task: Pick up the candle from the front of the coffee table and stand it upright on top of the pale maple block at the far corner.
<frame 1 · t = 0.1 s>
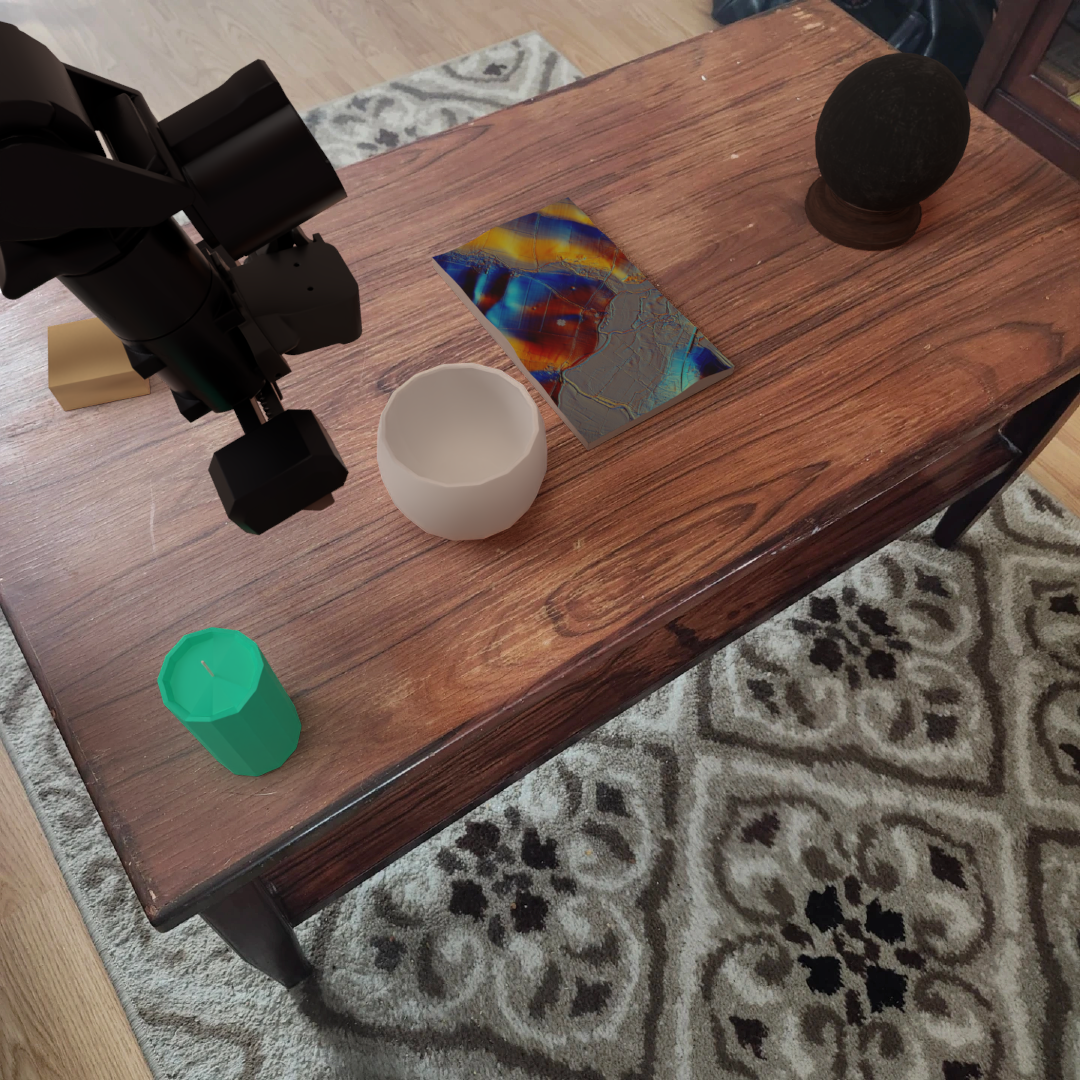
hand: (300, 451, 58), 13 cm above the table, tool pointing down, fingers open, 9 cm apart
relief map: (576, 320, 82), on the table
candle: (257, 734, 62), on the table
maple block: (105, 372, 78), on the table
cup: (468, 500, 72), on the table
velvet ball on stand: (860, 213, 90), on the table
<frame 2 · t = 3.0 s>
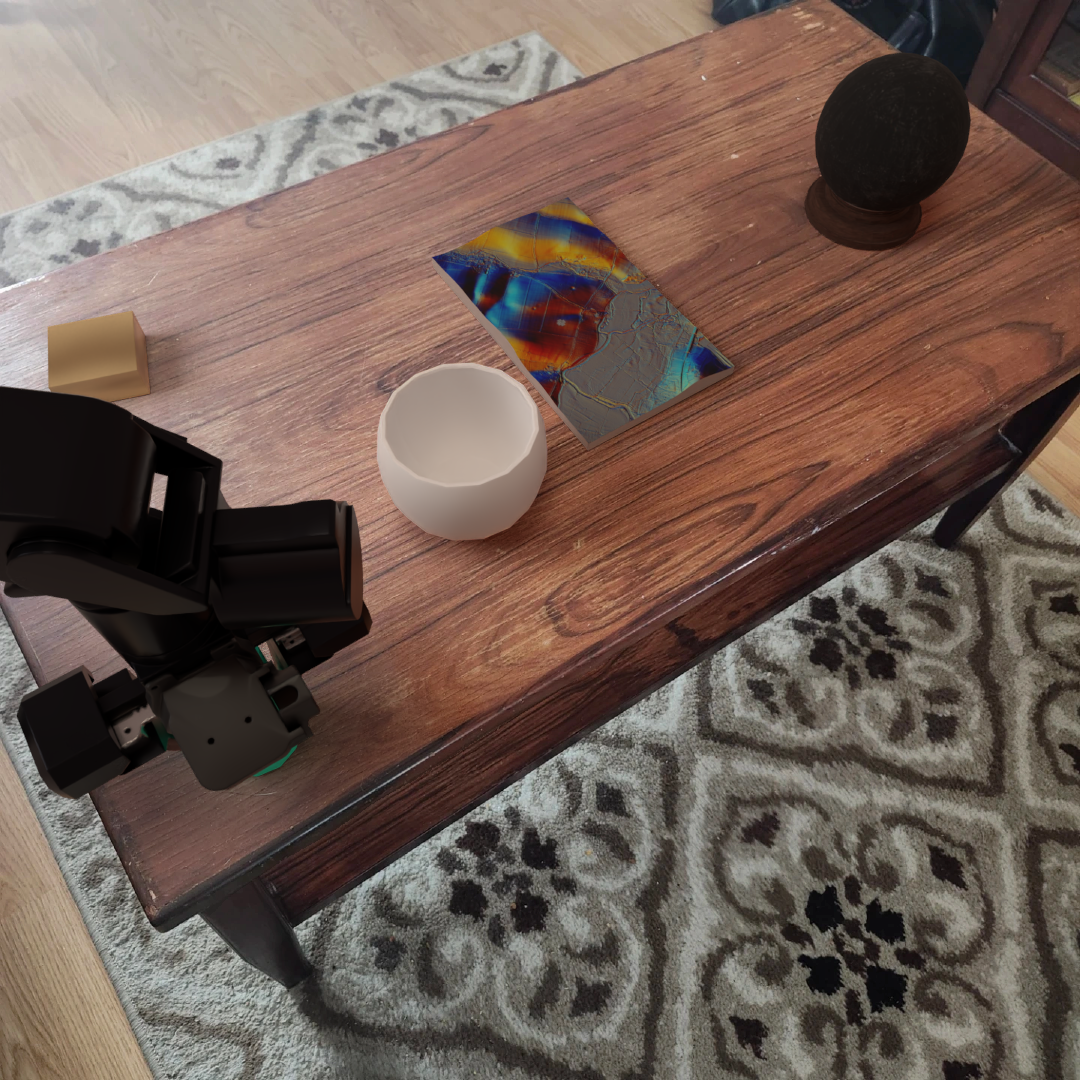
hand: (242, 715, 58), 4 cm above the table, tool pointing down, fingers closed on candle, 6 cm apart
candle: (257, 734, 62), on the table, touching gripper
everything else where it was.
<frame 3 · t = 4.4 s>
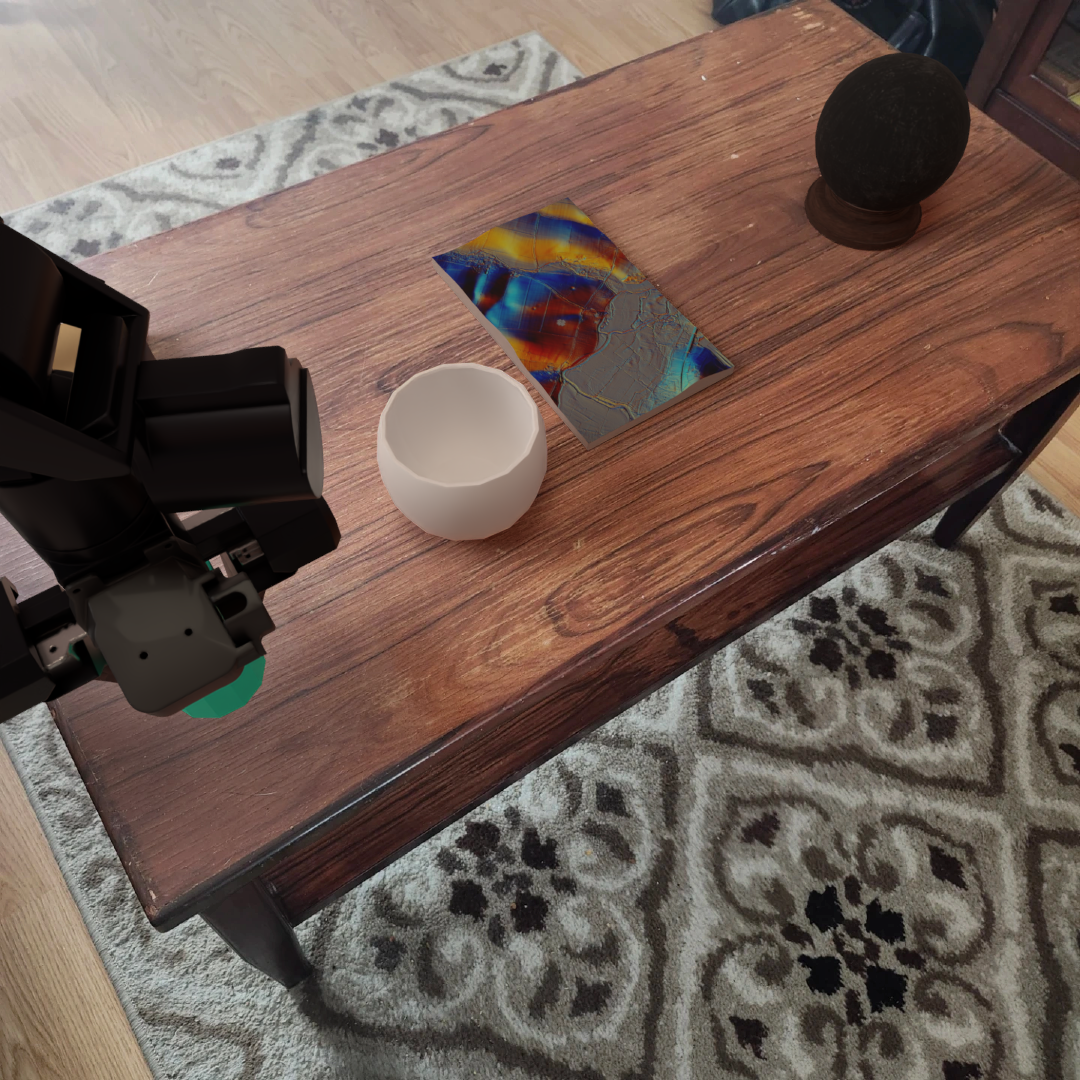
hand: (196, 647, 52), 12 cm above the table, tool pointing down, fingers closed on candle, 6 cm apart
candle: (216, 673, 55), point 8 cm above the table, touching gripper
everything else where it was.
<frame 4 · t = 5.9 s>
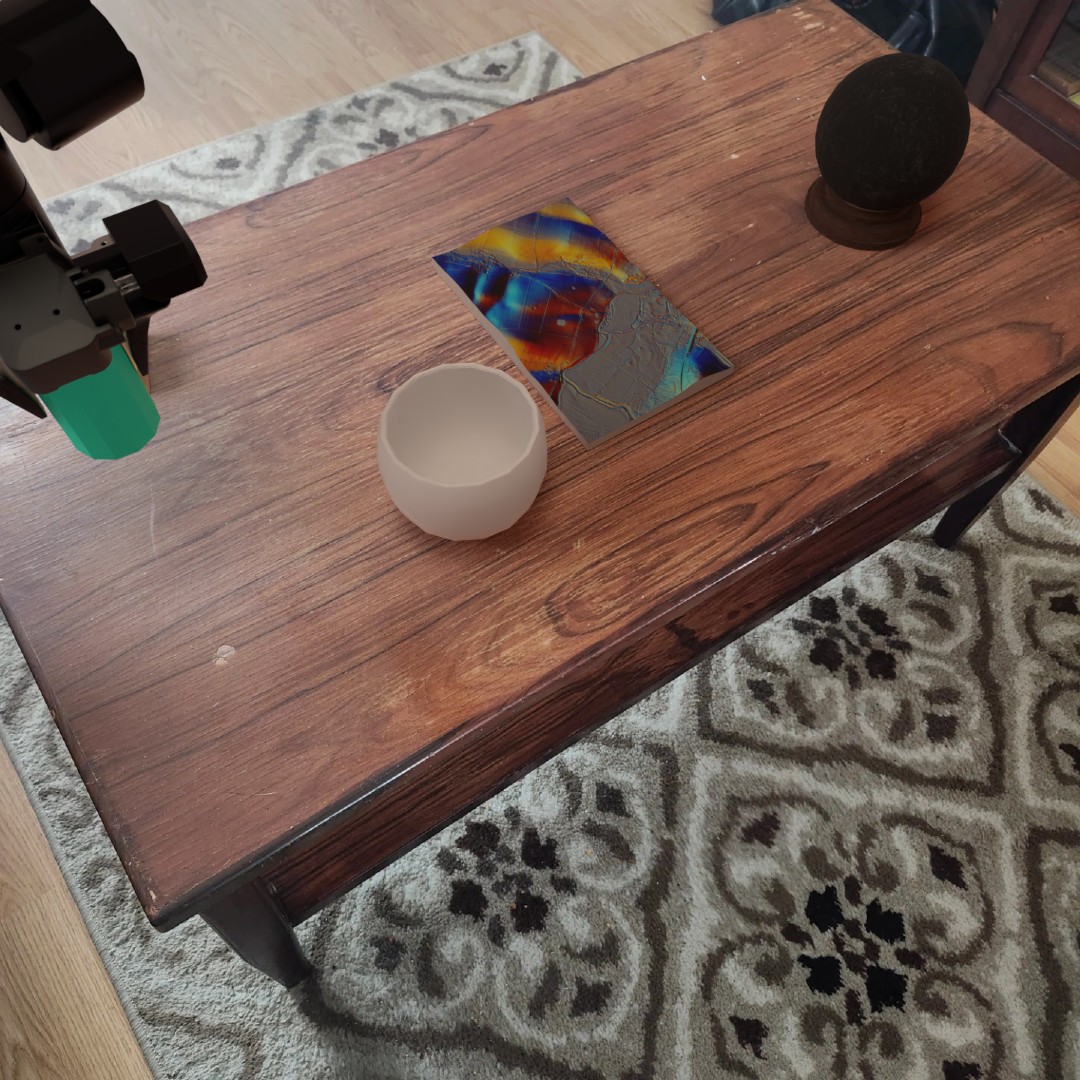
hand: (93, 392, 60), 13 cm above the table, tool pointing down, fingers closed on candle, 6 cm apart
candle: (117, 427, 63), point 9 cm above the table, touching gripper
everything else where it was.
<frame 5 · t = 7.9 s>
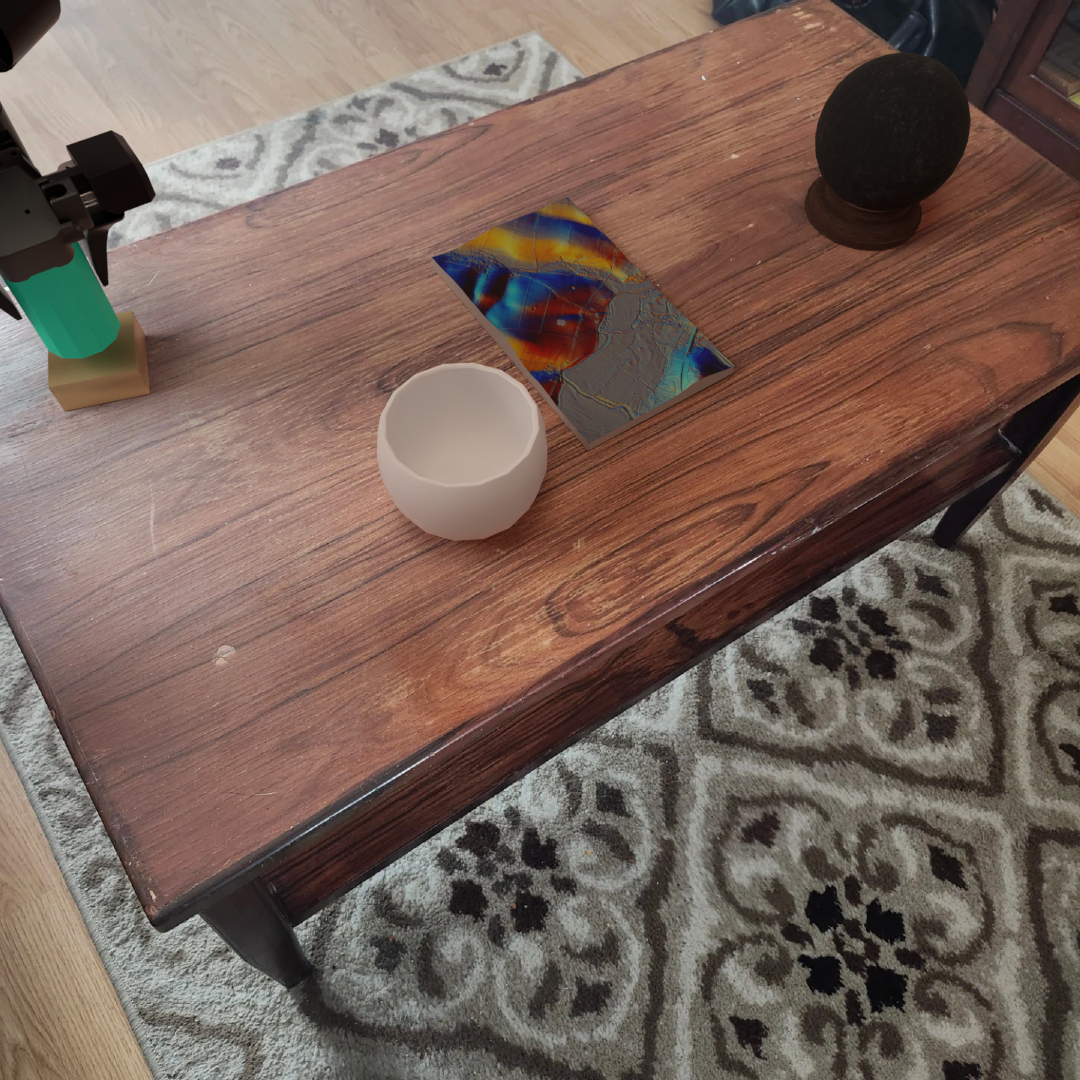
hand: (61, 299, 71), 8 cm above the table, tool pointing down, fingers closed on candle, 6 cm apart
candle: (83, 333, 74), point 5 cm above the table, touching gripper
everything else where it was.
when the fingers open (7 cm above the table, at t = 9.3 s): candle stays where it is, resting on maple block.
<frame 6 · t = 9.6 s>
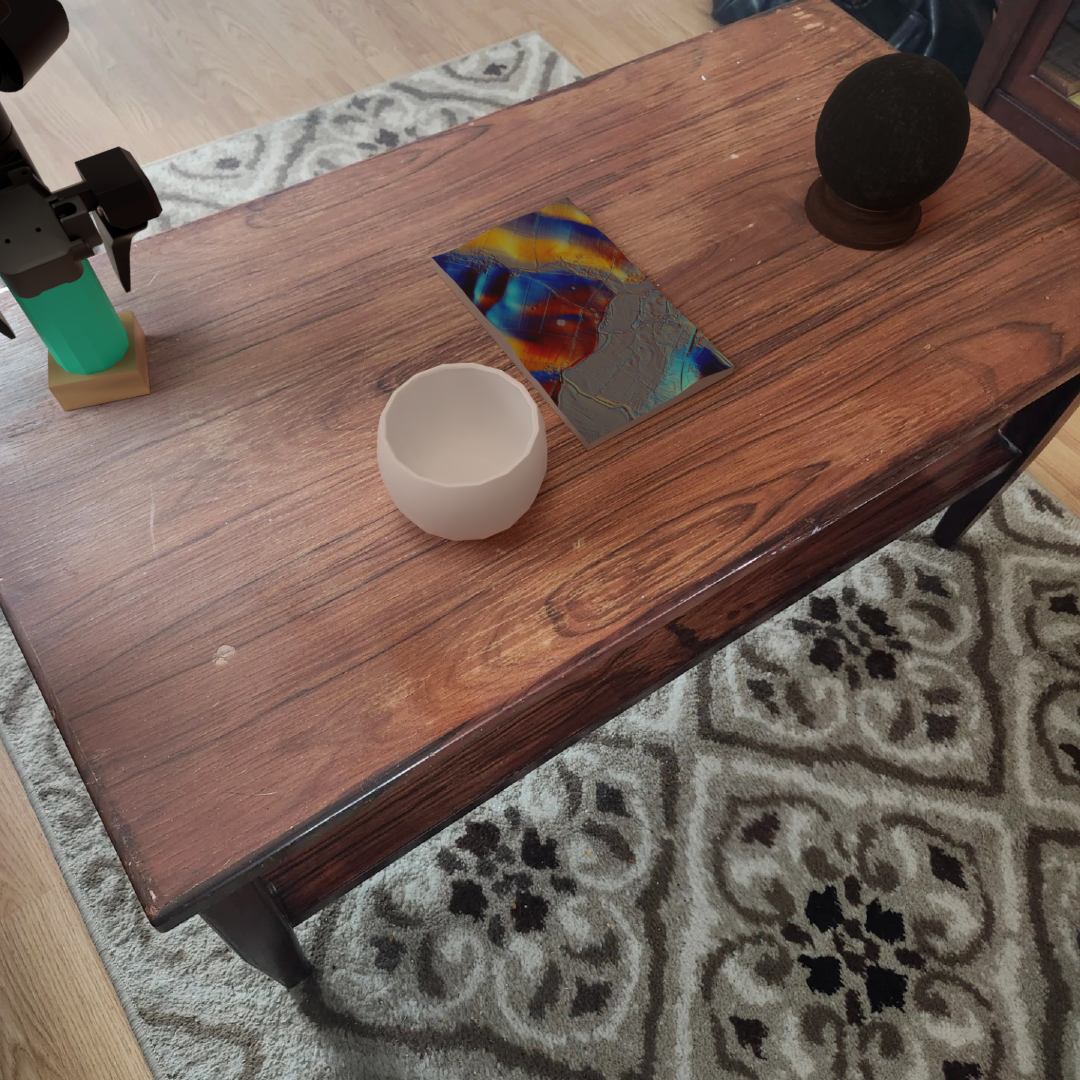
hand: (70, 311, 72), 7 cm above the table, tool pointing down, fingers open, 9 cm apart
candle: (93, 349, 75), point 3 cm above the table, touching maple block
maple block: (105, 372, 78), on the table, touching candle
everything else where it was.
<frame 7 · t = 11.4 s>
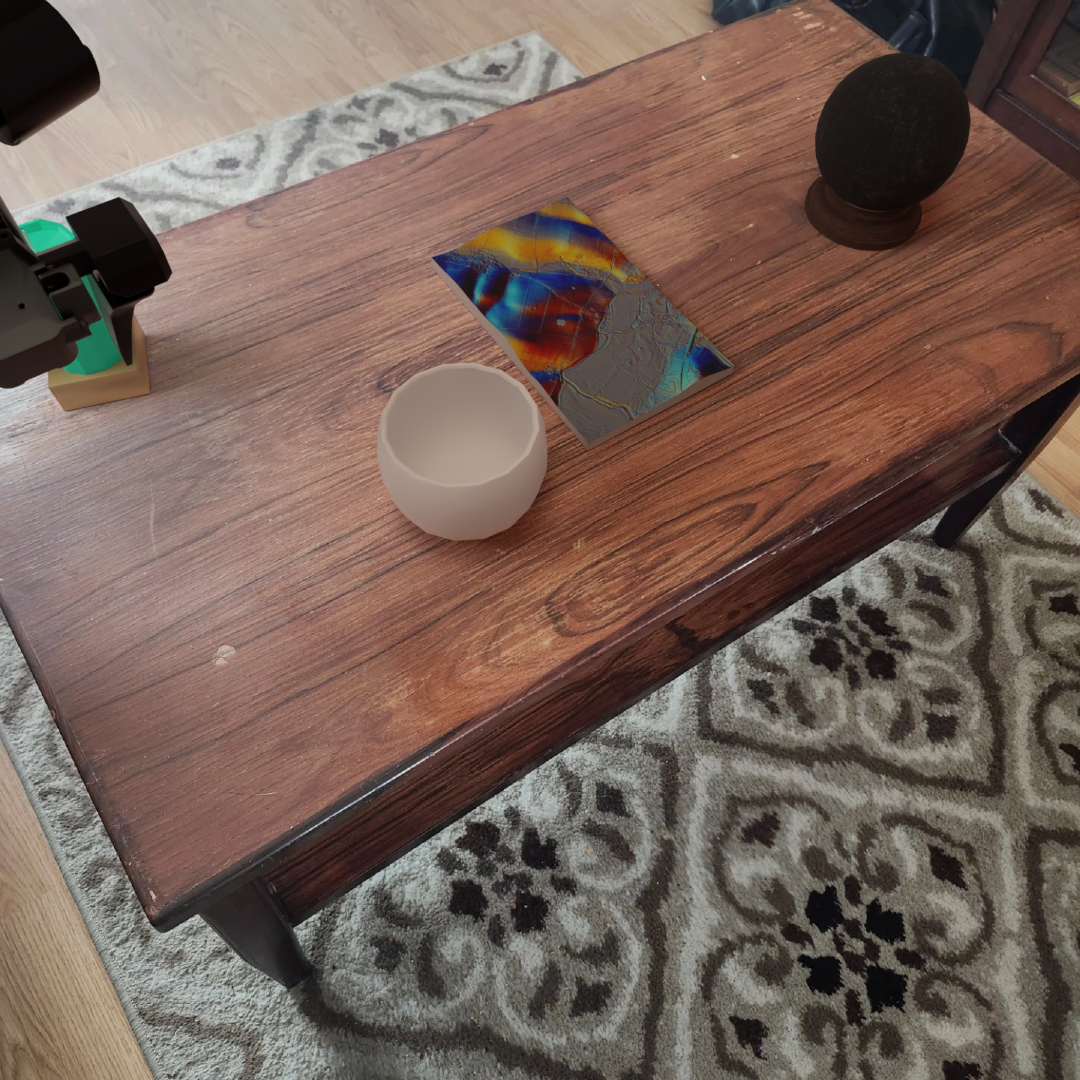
hand: (60, 390, 60), 13 cm above the table, tool pointing down, fingers open, 9 cm apart
nothing on the table moved.
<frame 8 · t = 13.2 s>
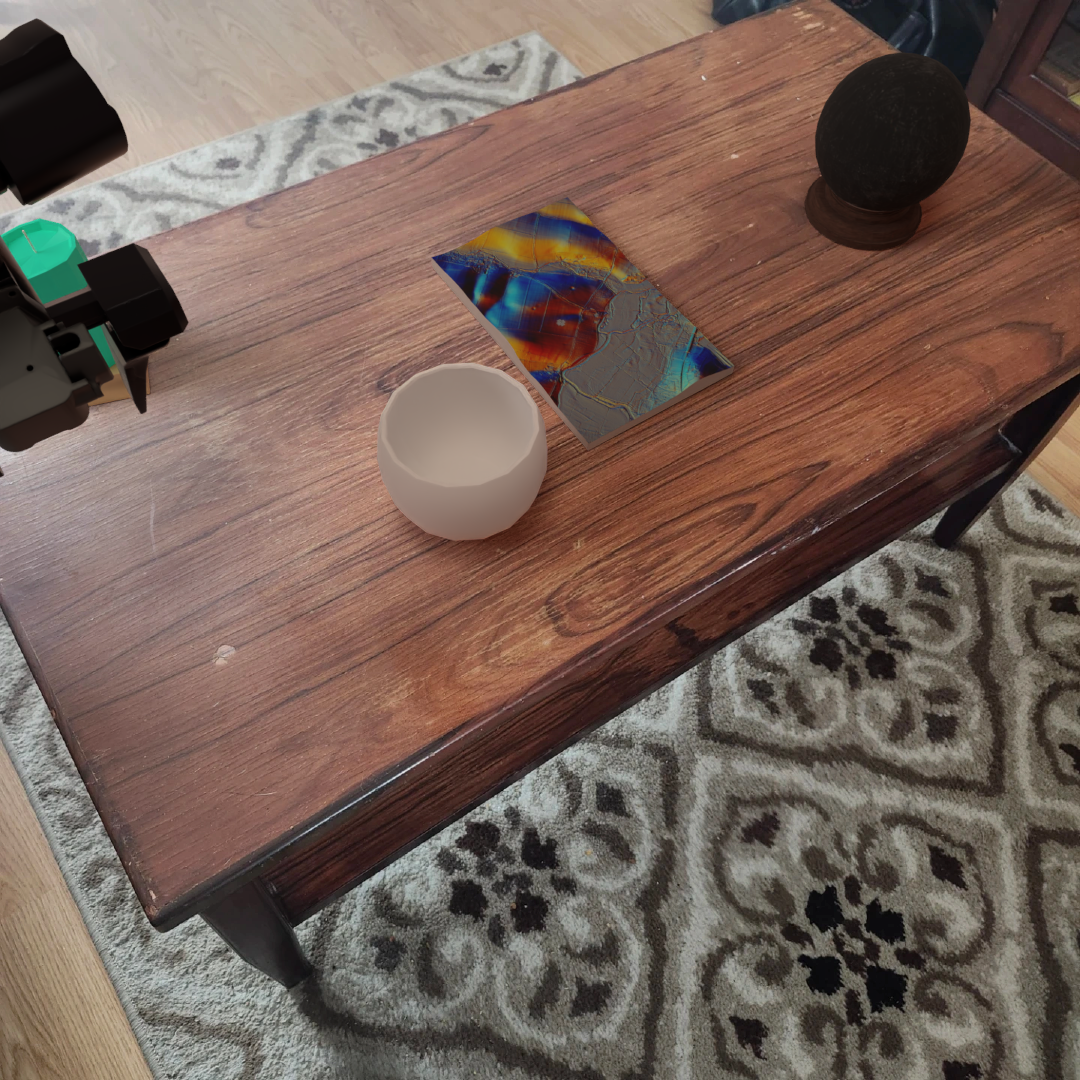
hand: (72, 440, 58), 13 cm above the table, tool pointing down, fingers open, 9 cm apart
nothing on the table moved.
at the end: candle 0.1 cm off-centre on the maple block, point 2.8 cm above the maple block's base; candle tilted 0°; the gripper is holding nothing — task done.
